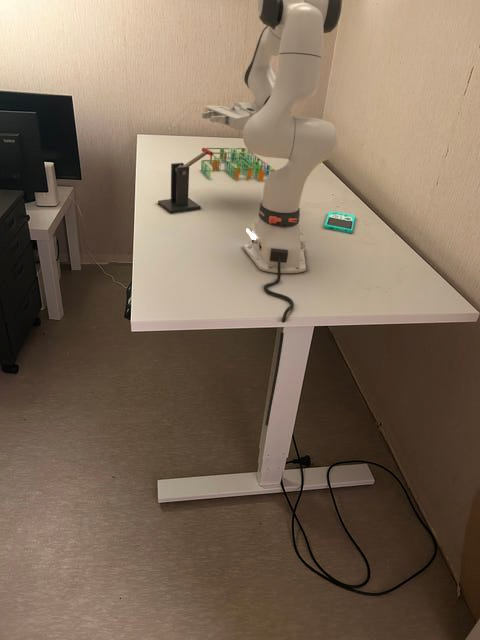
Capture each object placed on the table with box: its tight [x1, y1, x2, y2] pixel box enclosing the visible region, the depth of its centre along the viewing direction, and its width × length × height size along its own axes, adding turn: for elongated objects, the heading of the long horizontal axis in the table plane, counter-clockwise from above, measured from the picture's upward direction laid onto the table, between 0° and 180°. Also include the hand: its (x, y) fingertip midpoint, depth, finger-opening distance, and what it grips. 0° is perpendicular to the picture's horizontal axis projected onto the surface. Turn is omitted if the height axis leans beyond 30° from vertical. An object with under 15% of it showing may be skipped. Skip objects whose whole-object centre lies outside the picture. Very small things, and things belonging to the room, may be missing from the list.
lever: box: [174, 147, 214, 174], centre depth 161 cm, size 14×5×2 cm, turn 124°
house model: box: [200, 147, 276, 181], centre depth 211 cm, size 35×30×5 cm
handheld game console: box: [323, 211, 356, 234], centre depth 169 cm, size 10×16×1 cm, turn 164°
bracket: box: [157, 162, 201, 214], centre depth 163 cm, size 12×10×15 cm
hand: (207, 117), depth 155 cm, fingers open, 4 cm apart
